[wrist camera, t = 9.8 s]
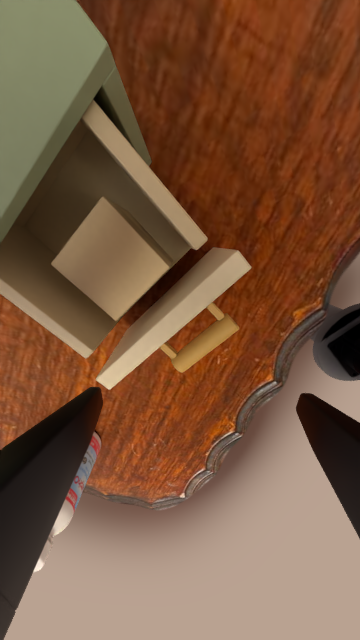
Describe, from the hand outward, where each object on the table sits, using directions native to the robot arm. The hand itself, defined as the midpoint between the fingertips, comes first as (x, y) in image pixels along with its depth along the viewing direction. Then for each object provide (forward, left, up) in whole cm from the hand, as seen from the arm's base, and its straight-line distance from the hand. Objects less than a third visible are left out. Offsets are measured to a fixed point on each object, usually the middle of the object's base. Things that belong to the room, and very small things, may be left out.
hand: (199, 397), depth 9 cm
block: (+7, 0, -10) cm, 12 cm away
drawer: (+7, 0, -11) cm, 13 cm away
